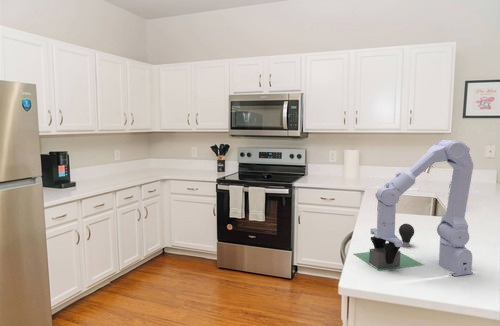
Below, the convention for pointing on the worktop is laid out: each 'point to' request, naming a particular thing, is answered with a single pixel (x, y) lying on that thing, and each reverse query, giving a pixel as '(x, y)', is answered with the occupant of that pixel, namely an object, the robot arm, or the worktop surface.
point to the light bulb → (406, 234)
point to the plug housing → (382, 258)
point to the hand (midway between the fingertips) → (384, 260)
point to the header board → (404, 263)
